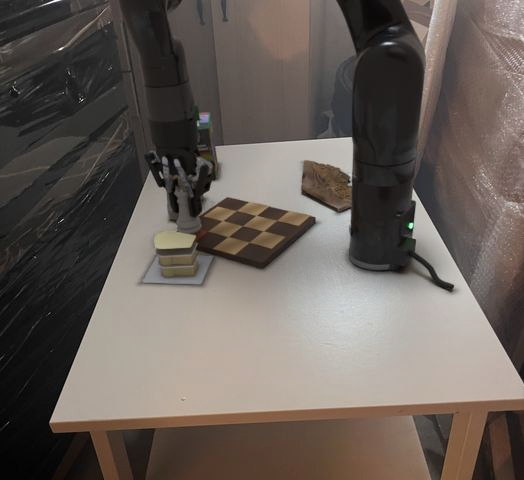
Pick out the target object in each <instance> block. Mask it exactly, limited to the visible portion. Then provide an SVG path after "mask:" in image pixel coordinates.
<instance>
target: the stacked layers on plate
mask: <svg viewBox="0 0 524 480" xmlns="http://www.w3.org/2000/svg"><path fill="white" fill-rule="evenodd" d="M195 237H196V235H191V234H186V233H180V232H176V231H175V230H163V231H161V232H159V233H156V234H155V235H154V243H153V244H154V245H153V246H154V248H155V254H156V257H155V259H154V261H153V262H152V264H151V266H150V268H149V269H148V271H147V273H146V274H145V276H144V278H143V279H142V281H141V283H142V284H145V283H146V284H169V285H170V284H175V285H176V284H177V285H202V283H203V281H204V279H205V277H206V274H207V272H208V270H209V267H210V265H211V262H212V260H213V258H214V255H200V253H199V252H197V250H196V246H197V242H193V241H194V239H195Z"/></svg>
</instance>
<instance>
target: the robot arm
mask: <svg viewBox="0 0 524 480" xmlns="http://www.w3.org/2000/svg"><path fill="white" fill-rule="evenodd" d="M335 1H336V3H337V5H338V7H339V9H340V11H341V13H342V16H343V18H344V20H345V23H346V26H347V29H348V33H349V35H350V38H351V41H352V44H353V48H354V52H355V55H356V59H357V60H356V62H355V65H354V68H353V69H354V70H353V73H352V89H351V141H352V166H351V168H352V170H351V186H352V194H351V207H350V223H349V224H348V233H349V248H348V259H349V260H350V261H351V263H352V264H354V265H355V266H357V267H359V268H362V269H364V270H370V271H393V272H397V271H398V270H399V268H400V267H406V265H408V263H409V261H411V260H412V259H413V260H415V261H417V262H418V263H420V264H421V265H422V266H423V267H424V268H425V269H426V270H427V271H428V273H429V275H430V277H431V279H432V280H433V282H435V283H436V284H437V285H438V286H440V287H442V288H445V289H448V290H450V291H452V290H453V289H454V288H455V284H453V283H452V282H451V283H450V282H448V281H445V280H443V279H441V278H440V277H439V276H438V273H437V272H436V270H435V267H433V266H432V264H431V263H430V262H428V261H427V260H426V259H425V258H424V257H422V256H421V255H419V254H418V253H416V246H417V239H416V238H413V236H414V226H415V219H416V218H415V217H416V207H417V201H416V200H413V192H414V183H415V182H414V181H415V174H416V164H417V163H416V162H417V154H418V146H419V137H420V123H421V115H422V107H423V106H422V104H423V96H424V86H425V75H426V67H427V57H426V52H425V48H424V46H423V43H422V41H421V40H420V37H419V36H418V33H417V32H416V30H415V28H414V26H413V24H412V22H411V19H410V18H409V16H408V13H407V12H406V9H405V7H404V5H403V2H402V0H335ZM182 2H183V0H118V6H119V10H120V14H121V16H122V19H123V22H124V24H125V27H126V29H127V32H128V34H129V36H130V40H131V42H132V44H133V46H134V48H135V50H136V53H137V56H138V64H139V69H140V75H141V79H142V84H143V85H142V86H143V99H144V105H145V111H146V115H147V123H148V127H149V132H150V133H149V134H150V137H151V141H152V142H151V143H152V145H153V146H155V148H154V149H152V150H150V151H148V152H146V153H144V154H143V158H144V160H145V162H146V165H147V166H148V168H149V170H150V172H151V175H152V177H153V180H154V181H155V183H156V186H157V187H158V188H159V189H160V188H163V189H165V192H166V191H167V192H168V194H169V200H170V205H171V208H172V209H173V212H174V213H179V204H178V203H177V200H178V197H177V196H176V195H175V194H174V192H175V190H176V188H175V187H176V186H178V185H179V184H180V179H181V183H182V185H184V186H185V188H186V191H187V195H188V198H187V199H188V205H189V212H190V216H191V217H194V218H195V217H197V216H198V217H199V216H200V215H201V213H202V212H203V205H202V200H201V196H202V195H203V196H204V195H205V194H206V193H209V191H210V190H211V186H212V181H213V180H212V178H213V174H214V169H215V162H214V161H213V160H210V161H209V162H208V161H206V160H205V159H203V158H202V157H201V154H200V151H199V149H198V147H197V142H198V138H199V134H198V126H197V119H196V111H195V105H196V103H195V97H194V91H193V88H192V83H191V79H190V72H189V65H188V64H189V63H188V58H187V52H186V48H185V44H184V42H183V40H182V39H181V38H180V37H179V36H177V35H174V34H173V32H172V28H171V25H170V22H169V21H170V20H169V17H168V15H169V14H172V13H173V12H174V11H176V10H177V9H178V8H179V7H180V5H181V4H182ZM197 165H198V168H197ZM189 175H191V176H189ZM187 176H189V177H187ZM192 183H193V186H194V188H193V187H192Z"/></svg>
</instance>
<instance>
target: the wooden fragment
mask: <svg viewBox="0 0 524 480" xmlns="http://www.w3.org/2000/svg"><path fill="white" fill-rule="evenodd" d="M301 173H302V174H301V185H300V191H301V192H304V193H306V194H309V195H311V196H312V197H314V198H316V199H318V200H319V201H322V202H324V203H325V204H327V205H329V206H331V207H334V208H336V209H337V214H338V213H340V212H343V211H345V210H347V209H349V208H351V194H352V185H349V183H348V182H349V181H350V180H351V177H350V175H349V174H347V173H346V172H344V171H342V170H341V168H340V167H336V166H334V165H331V164H328V163H327V164H325V163H319V162H316V161H314V160H309V159H304V160H303V166H302V172H301Z"/></svg>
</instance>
